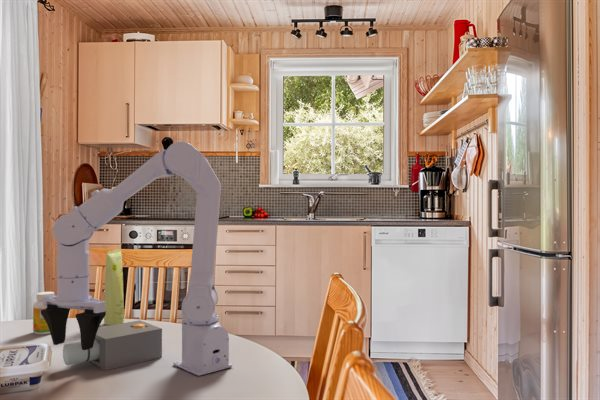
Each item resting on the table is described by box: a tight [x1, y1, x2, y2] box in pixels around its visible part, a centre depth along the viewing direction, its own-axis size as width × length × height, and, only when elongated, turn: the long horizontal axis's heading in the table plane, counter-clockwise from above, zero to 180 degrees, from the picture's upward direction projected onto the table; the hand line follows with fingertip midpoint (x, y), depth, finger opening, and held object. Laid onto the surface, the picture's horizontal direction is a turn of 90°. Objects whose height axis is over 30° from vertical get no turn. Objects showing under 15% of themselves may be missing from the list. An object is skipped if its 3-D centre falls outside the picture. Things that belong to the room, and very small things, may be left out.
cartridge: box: [62, 339, 100, 366], centre depth 105 cm, size 13×4×4 cm, turn 133°
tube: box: [103, 248, 125, 326], centre depth 138 cm, size 6×5×20 cm
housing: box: [91, 319, 163, 371], centre depth 108 cm, size 12×10×6 cm
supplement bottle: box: [32, 291, 55, 336], centre depth 129 cm, size 5×5×10 cm
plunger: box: [133, 324, 145, 329], centre depth 111 cm, size 2×2×3 cm
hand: (73, 346), depth 101 cm, fingers open, 7 cm apart
